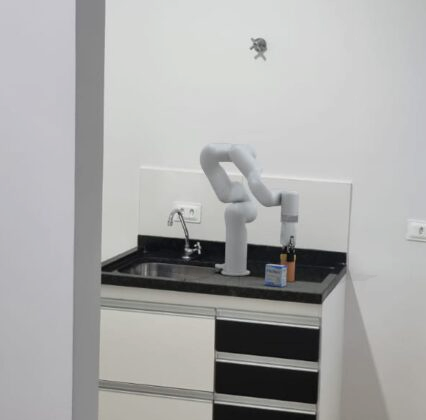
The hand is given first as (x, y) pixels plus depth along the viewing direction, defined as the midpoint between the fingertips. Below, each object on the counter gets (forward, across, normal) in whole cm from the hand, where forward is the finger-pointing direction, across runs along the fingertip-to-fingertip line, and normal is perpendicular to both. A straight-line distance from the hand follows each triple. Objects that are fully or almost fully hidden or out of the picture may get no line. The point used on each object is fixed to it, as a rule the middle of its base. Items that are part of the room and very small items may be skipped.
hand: (288, 260), depth 371 cm
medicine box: (+9, +12, -8) cm, 17 cm away
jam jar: (+9, 0, 0) cm, 9 cm away
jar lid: (-2, 0, 0) cm, 2 cm away
